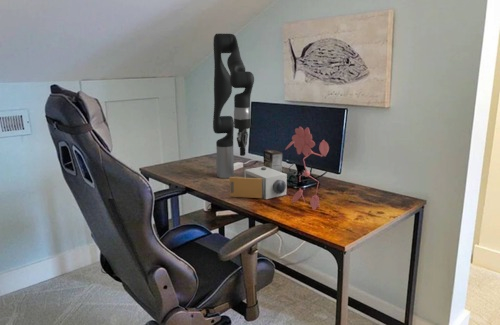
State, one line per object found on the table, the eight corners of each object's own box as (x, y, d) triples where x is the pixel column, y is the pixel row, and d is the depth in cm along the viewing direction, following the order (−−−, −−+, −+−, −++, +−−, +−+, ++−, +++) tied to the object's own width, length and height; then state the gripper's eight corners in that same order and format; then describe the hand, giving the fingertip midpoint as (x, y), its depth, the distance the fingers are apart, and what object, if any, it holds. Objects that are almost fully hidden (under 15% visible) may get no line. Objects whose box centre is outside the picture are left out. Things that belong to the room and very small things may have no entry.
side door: (229, 196, 176) (228, 178, 174) (230, 195, 178) (230, 176, 176) (263, 199, 173) (263, 179, 171) (264, 197, 175) (264, 178, 173)
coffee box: (262, 179, 205) (263, 150, 202) (273, 178, 208) (273, 149, 204) (271, 184, 198) (271, 153, 194) (282, 182, 200) (282, 152, 197)
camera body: (244, 189, 189) (244, 168, 186) (264, 185, 195) (264, 164, 193) (268, 200, 173) (268, 177, 170) (289, 195, 179) (289, 173, 177)
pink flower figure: (293, 196, 178) (294, 121, 170) (335, 212, 158) (338, 128, 149) (267, 203, 170) (266, 125, 161) (308, 221, 149) (310, 133, 141)
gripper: (237, 115, 178) (238, 152, 182) (230, 119, 165) (231, 158, 169) (253, 115, 176) (253, 152, 180) (247, 119, 164) (247, 159, 168)
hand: (242, 155), depth 175 cm, fingers closed
